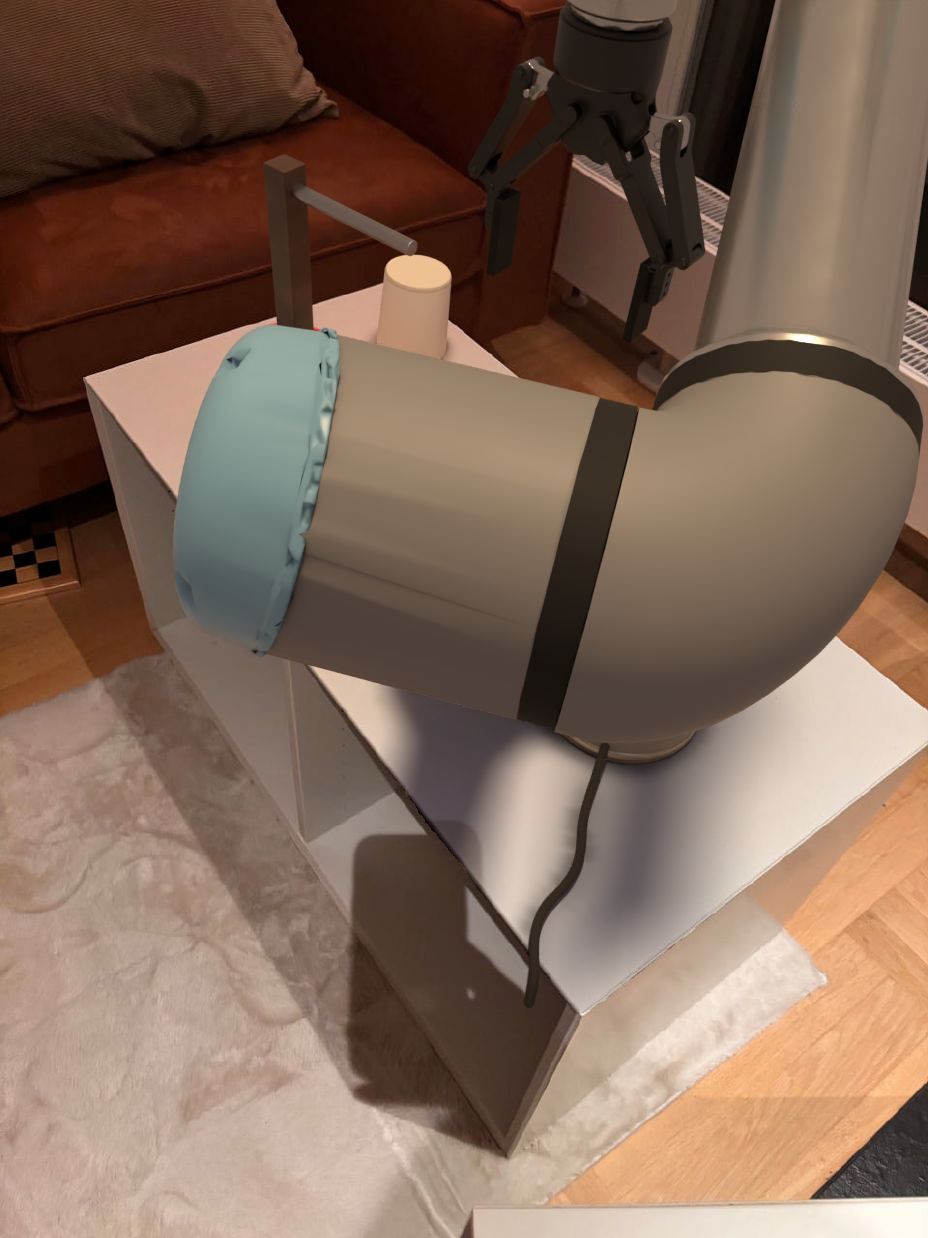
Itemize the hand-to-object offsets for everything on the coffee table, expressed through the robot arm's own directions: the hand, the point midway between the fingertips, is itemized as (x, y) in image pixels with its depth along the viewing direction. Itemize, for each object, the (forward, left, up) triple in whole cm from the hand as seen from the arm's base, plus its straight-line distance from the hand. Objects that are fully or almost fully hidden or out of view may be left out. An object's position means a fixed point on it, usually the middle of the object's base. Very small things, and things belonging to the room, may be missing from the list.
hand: (564, 301), depth 77 cm
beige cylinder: (+35, +10, -17) cm, 40 cm away
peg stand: (+4, +19, -28) cm, 34 cm away
